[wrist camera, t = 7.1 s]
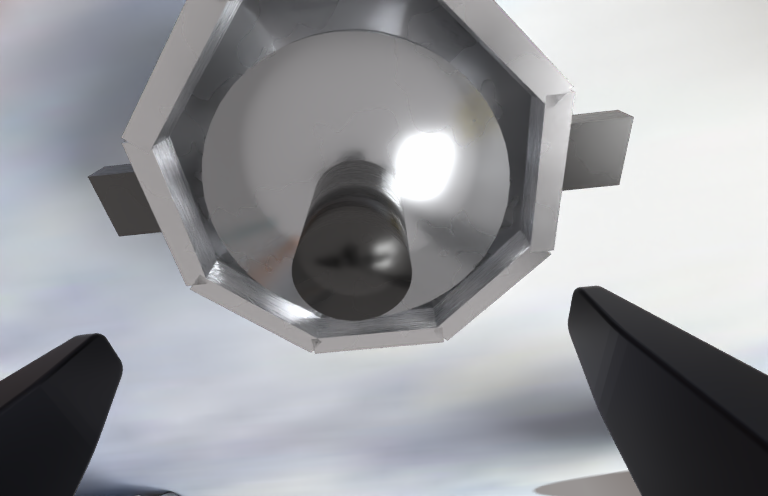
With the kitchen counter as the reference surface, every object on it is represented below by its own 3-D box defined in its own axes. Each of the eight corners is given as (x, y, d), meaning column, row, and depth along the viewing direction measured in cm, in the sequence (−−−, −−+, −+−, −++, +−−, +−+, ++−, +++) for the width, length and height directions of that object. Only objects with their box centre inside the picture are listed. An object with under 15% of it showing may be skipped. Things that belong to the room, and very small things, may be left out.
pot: (554, 245, 21) (614, 326, 16) (207, 279, 22) (154, 367, 17) (597, -66, 14) (727, -106, 9) (92, -1, 15) (-62, -3, 10)
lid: (493, 286, 16) (538, 393, 12) (258, 307, 16) (215, 420, 12) (508, 9, 11) (597, 15, 7) (169, 48, 11) (41, 77, 7)
